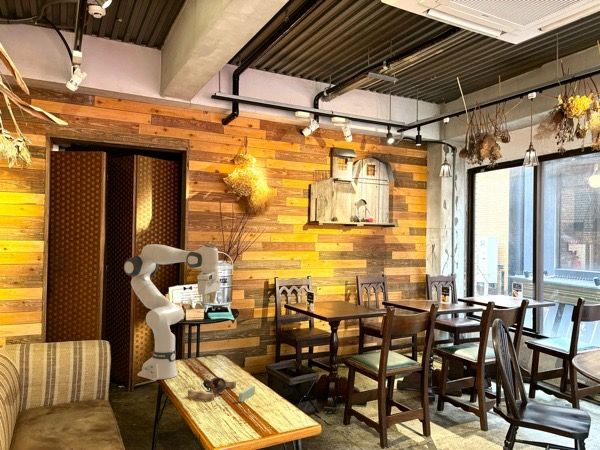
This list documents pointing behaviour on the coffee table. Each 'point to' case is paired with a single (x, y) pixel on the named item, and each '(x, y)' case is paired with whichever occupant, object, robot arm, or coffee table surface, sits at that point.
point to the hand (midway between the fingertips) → (209, 301)
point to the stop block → (246, 393)
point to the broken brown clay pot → (215, 385)
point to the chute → (206, 394)
